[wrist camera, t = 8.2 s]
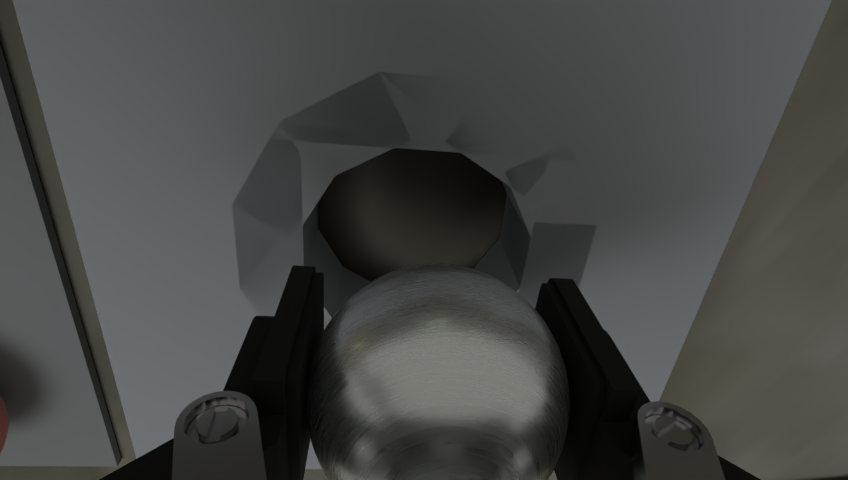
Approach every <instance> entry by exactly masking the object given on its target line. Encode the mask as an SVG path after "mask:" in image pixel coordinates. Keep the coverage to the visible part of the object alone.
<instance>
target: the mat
mask: <svg viewBox="0 0 848 480" xmlns="http://www.w3.org/2000/svg"><path fill="white" fill-rule="evenodd" d="M0 396H1V397H2V399H3V401H4V403H5V406H6V409H7V412H8V423H9V424H8V433H7V438H6V441H5V444H4V447H3V450H2V452H1V454H0V466H118V464H119V463H120V461H121V456H120V453H119V449H118V446H117V442H116V439H115V435H114V432H113V429H112V425H111V422H110V418H109V415H108V411H107V408H106V405H105V401H104V398H103V394H102V391H101V387H100V384H99V381H98V377H97V374H96V370H95V367H94V363H93V360H92V357H91V353H90V350H89V346H88V343H87V339H86V336H85V333H84V329H83V326H82V322H81V319H80V315H79V312H78V309H77V305H76V302H75V298H74V295H73V291H72V288H71V285H70V281H69V278H68V274H67V271H66V267H65V264H64V261H63V257H62V254H61V250H60V247H59V243H58V240H57V237H56V233H55V230H54V226H53V223H52V220H51V216H50V213H49V209H48V206H47V202H46V199H45V196H44V192H43V189H42V185H41V182H40V178H39V175H38V172H37V168H36V165H35V161H34V158H33V154H32V151H31V148H30V144H29V141H28V137H27V134H26V130H25V127H24V124H23V120H22V117H21V113H20V110H19V106H18V103H17V100H16V96H15V93H14V89H13V86H12V82H11V79H10V76H9V72H8V69H7V65H6V62H5V58H4V55H3V52H2V48H1V45H0Z"/></svg>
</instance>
